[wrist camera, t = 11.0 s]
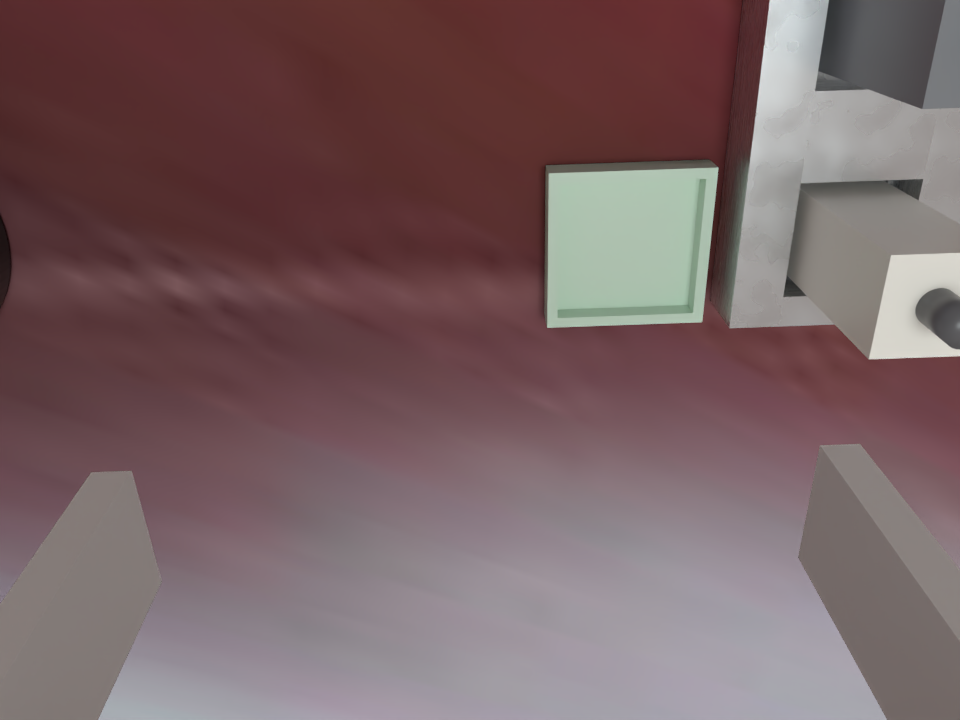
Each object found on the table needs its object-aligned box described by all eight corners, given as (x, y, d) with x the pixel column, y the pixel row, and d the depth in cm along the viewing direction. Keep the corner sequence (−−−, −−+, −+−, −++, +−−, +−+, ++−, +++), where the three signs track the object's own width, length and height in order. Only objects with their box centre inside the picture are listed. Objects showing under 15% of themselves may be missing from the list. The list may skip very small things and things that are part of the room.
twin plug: (806, 66, 43) (955, 121, 30) (822, -40, 40) (990, -30, 28) (901, 63, 43) (1090, 116, 30) (922, -43, 40) (1136, -35, 28)
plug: (789, 181, 45) (919, 276, 33) (878, 178, 45) (1043, 271, 33) (777, 265, 48) (894, 384, 35) (862, 262, 48) (1009, 380, 35)
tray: (544, 315, 50) (547, 327, 48) (545, 165, 46) (548, 173, 44) (694, 309, 50) (702, 322, 48) (709, 159, 46) (718, 167, 44)
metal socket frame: (709, 300, 50) (729, 328, 46) (753, -94, 40) (781, -98, 36) (906, 293, 50) (940, 320, 46) (996, -102, 40) (1048, -106, 36)
